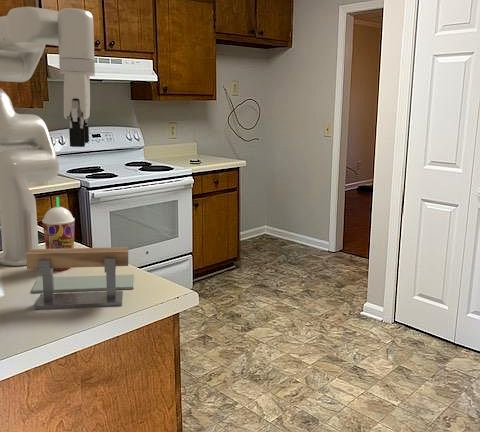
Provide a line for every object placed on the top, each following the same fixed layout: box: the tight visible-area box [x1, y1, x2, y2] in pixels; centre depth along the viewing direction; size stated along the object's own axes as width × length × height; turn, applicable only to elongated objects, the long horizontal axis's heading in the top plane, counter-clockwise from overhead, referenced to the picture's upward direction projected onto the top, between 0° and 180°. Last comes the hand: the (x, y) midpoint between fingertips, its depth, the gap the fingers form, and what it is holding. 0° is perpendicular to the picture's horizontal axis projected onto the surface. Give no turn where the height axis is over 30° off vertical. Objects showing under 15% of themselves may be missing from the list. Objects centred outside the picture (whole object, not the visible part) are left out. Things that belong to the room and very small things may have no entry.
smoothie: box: [41, 196, 76, 271], centre depth 136 cm, size 8×8×20 cm
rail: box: [26, 246, 129, 270], centre depth 113 cm, size 4×22×4 cm, turn 101°
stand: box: [34, 257, 124, 310], centre depth 114 cm, size 7×19×11 cm, turn 101°
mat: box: [31, 274, 135, 294], centre depth 126 cm, size 9×24×1 cm, turn 101°
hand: (79, 144), depth 115 cm, fingers open, 9 cm apart
